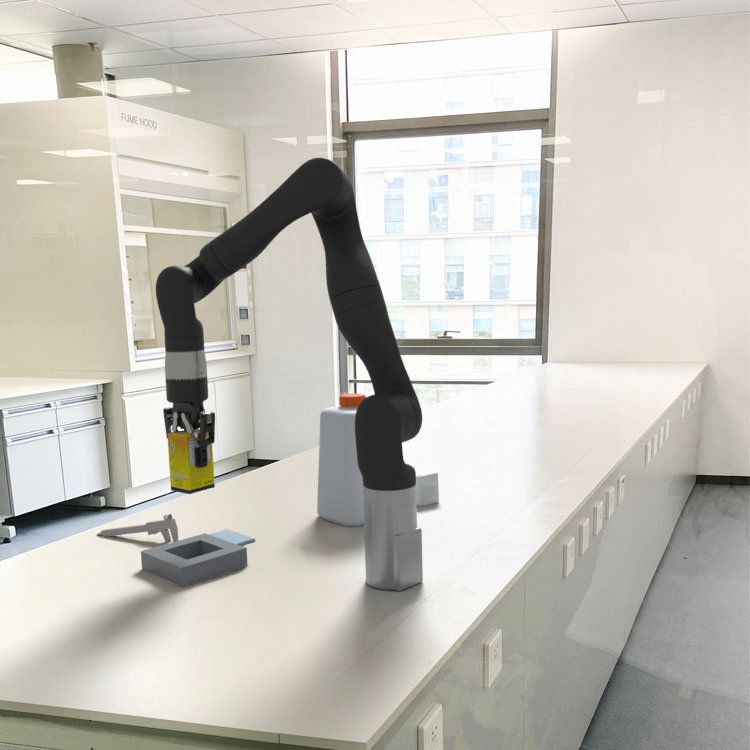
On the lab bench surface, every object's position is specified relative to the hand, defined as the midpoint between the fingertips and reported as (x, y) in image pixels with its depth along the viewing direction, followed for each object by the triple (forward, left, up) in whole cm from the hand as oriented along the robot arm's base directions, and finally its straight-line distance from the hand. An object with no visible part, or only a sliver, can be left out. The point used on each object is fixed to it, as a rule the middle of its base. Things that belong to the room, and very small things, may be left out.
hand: (191, 464), depth 141 cm
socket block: (-1, +1, -20) cm, 20 cm away
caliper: (+25, -1, -20) cm, 32 cm away
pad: (+8, -11, -20) cm, 24 cm away
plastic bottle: (0, -42, -20) cm, 47 cm away
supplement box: (0, 0, -5) cm, 5 cm away
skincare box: (-4, -61, -20) cm, 64 cm away
